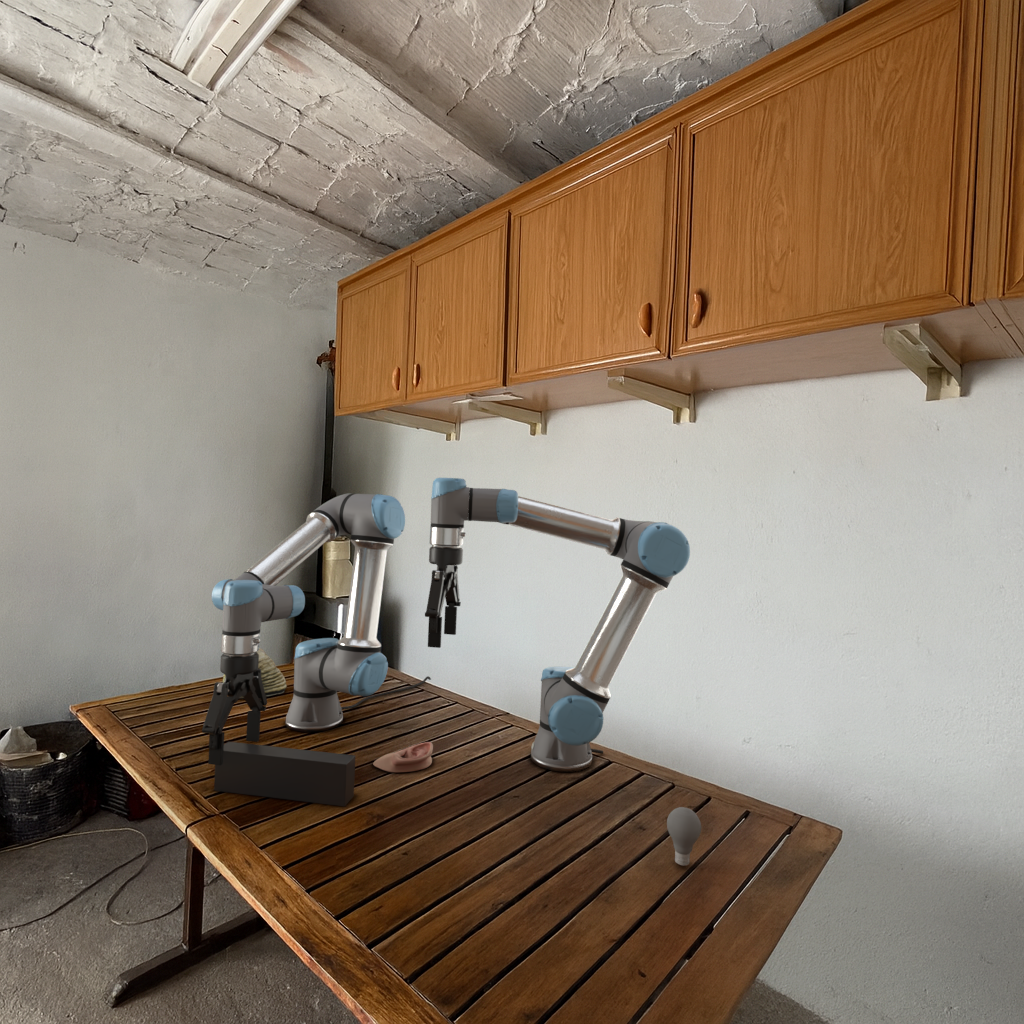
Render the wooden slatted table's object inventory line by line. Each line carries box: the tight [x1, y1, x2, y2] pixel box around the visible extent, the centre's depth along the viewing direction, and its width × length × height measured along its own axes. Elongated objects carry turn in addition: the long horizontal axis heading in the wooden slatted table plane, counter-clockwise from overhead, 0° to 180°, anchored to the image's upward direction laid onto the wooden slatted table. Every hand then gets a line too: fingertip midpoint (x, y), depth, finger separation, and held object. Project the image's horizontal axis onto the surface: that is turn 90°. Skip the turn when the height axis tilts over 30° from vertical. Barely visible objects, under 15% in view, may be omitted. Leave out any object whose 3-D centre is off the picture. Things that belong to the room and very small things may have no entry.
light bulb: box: [666, 806, 702, 867], centre depth 114 cm, size 6×6×10 cm
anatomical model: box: [372, 741, 434, 773], centre depth 152 cm, size 13×4×12 cm
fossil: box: [222, 647, 288, 699], centre depth 198 cm, size 9×18×15 cm, turn 132°
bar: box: [213, 741, 356, 807], centre depth 134 cm, size 29×5×9 cm, turn 81°
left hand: (235, 752), depth 136 cm, fingers open, 13 cm apart
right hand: (442, 640), depth 143 cm, fingers open, 13 cm apart
